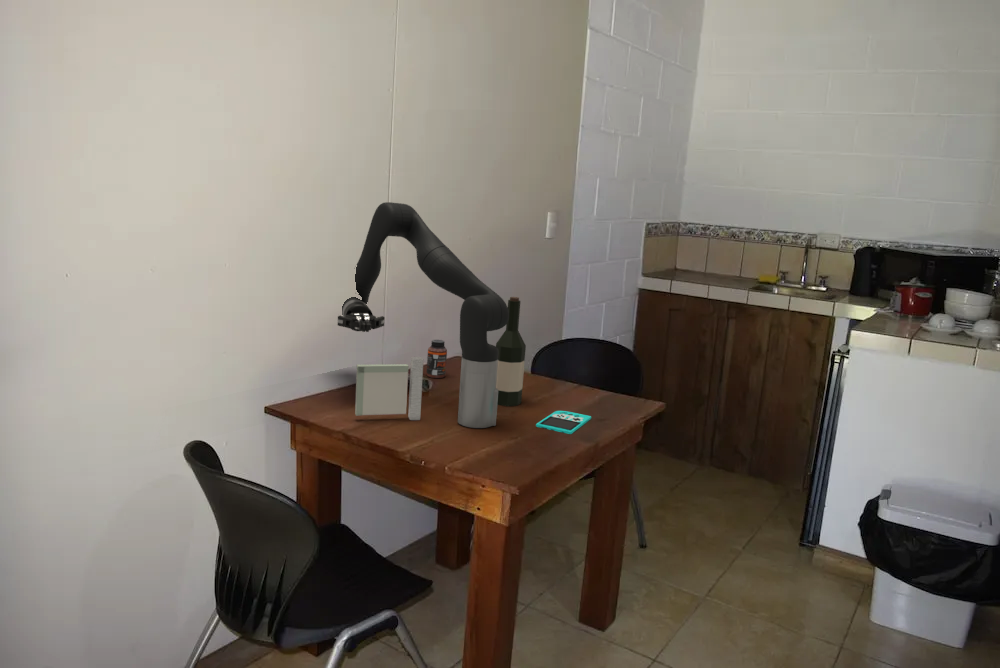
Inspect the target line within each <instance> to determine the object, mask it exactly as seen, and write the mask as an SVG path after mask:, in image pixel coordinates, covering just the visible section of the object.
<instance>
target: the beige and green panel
mask: <svg viewBox="0 0 1000 668" xmlns="http://www.w3.org/2000/svg"><path fill="white" fill-rule="evenodd" d="M409 368H410V367H409V364H407V363H406V364H405V363H404V364H402V363H401V364H400V363H399V364H397V363H395V364H394V363H393V364H391V363H390V364H386V363H385V364H356V379H355V380H356V381H355V403H354V404H355V408H354V409H355V410H354V411H355V412H354V414H355V416H356V417H357V416H377V415H378V416H379V415H380V416H381V415H383V416H384V415H407V404H408V403H407V400H408V382H409V381H408V380H409Z"/></svg>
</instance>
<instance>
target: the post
mask: <svg viewBox="0 0 1000 668" xmlns="http://www.w3.org/2000/svg"><path fill="white" fill-rule="evenodd" d="M409 373H410V375H409V392H408V393H409V394H408V396H409V397H408V415H407V417H408V419H409V420H410V421H420V420H421V413H422V412H421V411H422V393H423V373H424V359H423V357H422V356H411V357H410V372H409Z"/></svg>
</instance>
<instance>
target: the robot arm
mask: <svg viewBox="0 0 1000 668" xmlns="http://www.w3.org/2000/svg"><path fill="white" fill-rule="evenodd" d="M388 237H398V238H403V239H405V240H406V241H408V242H409V243H410V244H411V245H412V246H413V248H414V249H415V251H416V260H417V265H418V267H419V269H421V271H422V273H424V275H425V276H426V277H427V278H428V279H429V280H430V281H431V282H432V283H433V284H434V285H436V286H437V287H439V288H441V289H443V290H444V291H447V292H449V293H451V294H453V295H455V296H457V297H459V298H461V299H463V302H462V304H461V308H460V313H459V344H460V349H461V363H460V380H459V394H458V395H459V396H458V397H459V398H458V408H457V409H458V411H457V412H458V413H457V423H458V424H459V425H460V426H463V427H466V428H472V429H485V428H490V427H493V426H494V427H495V426H496V425H497V413H498V405H497V403H498V389H497V388H496V381H497V367H498V353H499V351H498V348H497V347H496V345H493V344H490V343H489V342H488V332H493V331H497V330H500V329H503V328H504V327H506V324H507V322H508V320H509V311H508V304H507V303H506V301H504V298H502V297H501V296H500V295H499V294H498V293H496V292H495V290H493V289H491V288H490V287H489V286H488V285H487V284H486V283H484V282H483V281H482V280H481V279H480V278H478V277H477V276H476V275H475V273H473V272H472V271H471V269H469V268H468V267H467V266H466V265H465V264H464V262H462V261H461V259H459V257H457V255H456V254H455V253H454V252H453V251H452V250H451V249H450V248H449V247H448V246H447V245H445V244H444V243H443V241H442V240H441V239H440V238H439V237H438V236H437V235H436V234H435V233H434V232H433V231H432V230H431V229H430V228H429V227H428V225H427V224H426V222H425V221H424V220H423V219H422V217H421V215H419V213H418V212H417V211H416V209H414V208H413V207H412V205H409V204H406V203H399V202H392V201H391V202H387V201H386V202H382V203H381V204H379V205H378V206H377V207H376V208H375V210H374V213H373V216H372V219H371V221H370V225H369V229H368V231H367V234H366V239H365V242H364V244H363V247H362V248H363V249H362V252H361V254H360V257H359V259H358V261H357V263H356V265H357V267H356V266H355V267H356V274H355V282H356V290H357V292H358V293H359V294H358V295H360V296H361V297H362V300H360V299H358V298H356V297H351V298H349V299H347V300H346V301H345V302H344V304H343V306H342V315H343V316H341V315H338V316H337V326H338V327H343V328H347V329H350V330H352V331H355V332H361V333H364V332H366V333H369V332H370V331H372V330H377V329H379V328H382V327H385V321H386V320H385V316H383V315H381V316H375V315H374V314H373V311H372V310H371V309H370V307H369V305H368V306H367V305H366V304H367V302H368V303H369V299H370V295H371V293H372V289H373V287H374V285H375V283H376V281H377V280H378V278H379V276H380V273H381V269H382V259H381V257H382V256H381V248H382V246H383V244H384V242H385V241H386V239H387V238H388Z"/></svg>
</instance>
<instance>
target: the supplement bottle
mask: <svg viewBox="0 0 1000 668" xmlns="http://www.w3.org/2000/svg"><path fill="white" fill-rule="evenodd" d="M447 356H448V349H447V348H446V346H445V340H442V339H432V340H431V344H430V346H429V347H428V349H427V357H426V359H427V361H426V376H427V377H429V378H432V379H443V378H445V377H446V373H447V358H448V357H447Z"/></svg>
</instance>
